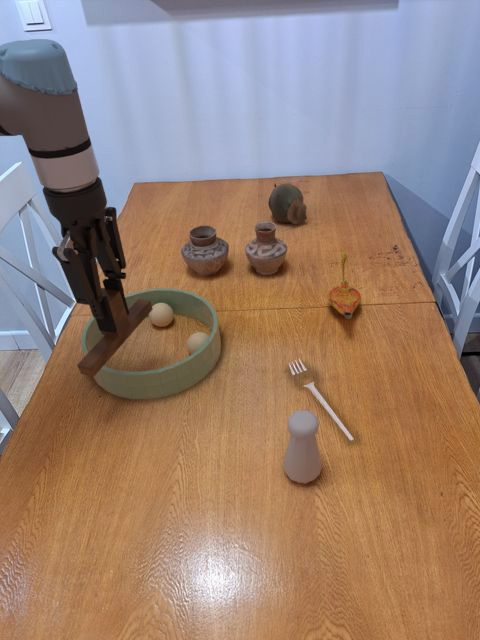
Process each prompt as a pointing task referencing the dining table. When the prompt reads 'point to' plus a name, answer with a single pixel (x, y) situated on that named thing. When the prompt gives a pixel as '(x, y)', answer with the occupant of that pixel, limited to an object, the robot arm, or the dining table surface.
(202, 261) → the pair of painted pots
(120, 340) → the brown inverted t block
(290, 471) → the salt shaker
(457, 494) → the dining table surface
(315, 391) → the fork
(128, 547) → the dining table surface
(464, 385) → the dining table surface
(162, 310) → the dough ball
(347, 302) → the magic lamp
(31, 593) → the dining table surface
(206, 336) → the dough ball
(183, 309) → the green ring
